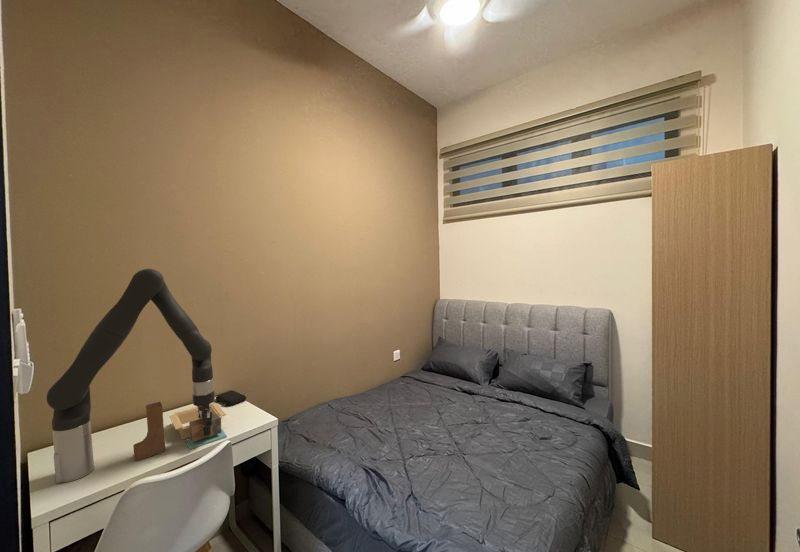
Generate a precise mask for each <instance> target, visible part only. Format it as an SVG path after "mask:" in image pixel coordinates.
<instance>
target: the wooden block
mask: <svg viewBox="0 0 800 552" xmlns="http://www.w3.org/2000/svg"><path fill="white" fill-rule="evenodd" d="M145 410H146V424H147V426H146V427H147V432H146V433H147V434H146V436H145V437H144V438H143V440H141V441H138V442H137V443H134V444H133V457H134V461H135V462H138V461H140V459H141V460H143V458H144V459H146V458H149V457H152V456H154V455H159V454H162V453H165V451H166V444H165V430H164V429H165V427H164V425H165V424H164V413H163V412H164V411H163V405H162V403H161V401H156V402H153V403H149V404H146V405H145ZM137 460H138V461H137Z"/></svg>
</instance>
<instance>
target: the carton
mask: <svg viewBox="0 0 800 552" xmlns="http://www.w3.org/2000/svg"><path fill="white" fill-rule="evenodd" d="M209 407H211V412H212V415H215V414H218V415H219V417H220V418H221V420H222V419H223V417H225V416H227V414H226V412H225V411H224V410H223V409H222V408H221V406H220V405H219V403H217V402H216V403H211V404H209ZM169 418H170V420H171V422H172V425H173V427H174V430H175V431H178V434H179V435H180V437H181V439H182V440H184V439H185V440H186V439H189V438H190V426H189V425H186V426H183V425H184V424H187V423H189V422H191V421H195V420H198V419H200V418H198V407H197V406H195V407H190V408H188V409H187V408H186V409H184V410H180V411H179V410H178V411H176V412H174V414H171V415H169Z"/></svg>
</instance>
